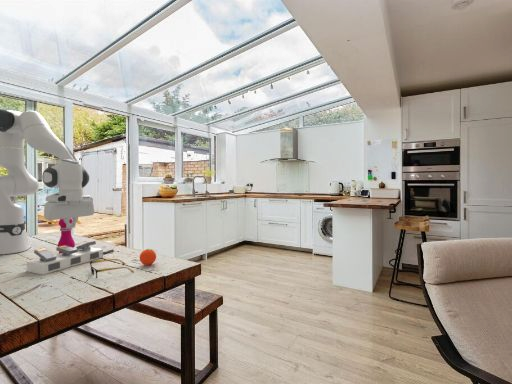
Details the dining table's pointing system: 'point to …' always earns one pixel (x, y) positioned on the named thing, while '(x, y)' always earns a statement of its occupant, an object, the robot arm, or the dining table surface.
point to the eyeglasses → (105, 269)
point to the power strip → (65, 260)
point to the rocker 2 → (67, 249)
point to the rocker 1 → (45, 254)
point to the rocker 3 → (86, 245)
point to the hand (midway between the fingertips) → (70, 227)
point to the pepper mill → (65, 235)
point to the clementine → (148, 257)
